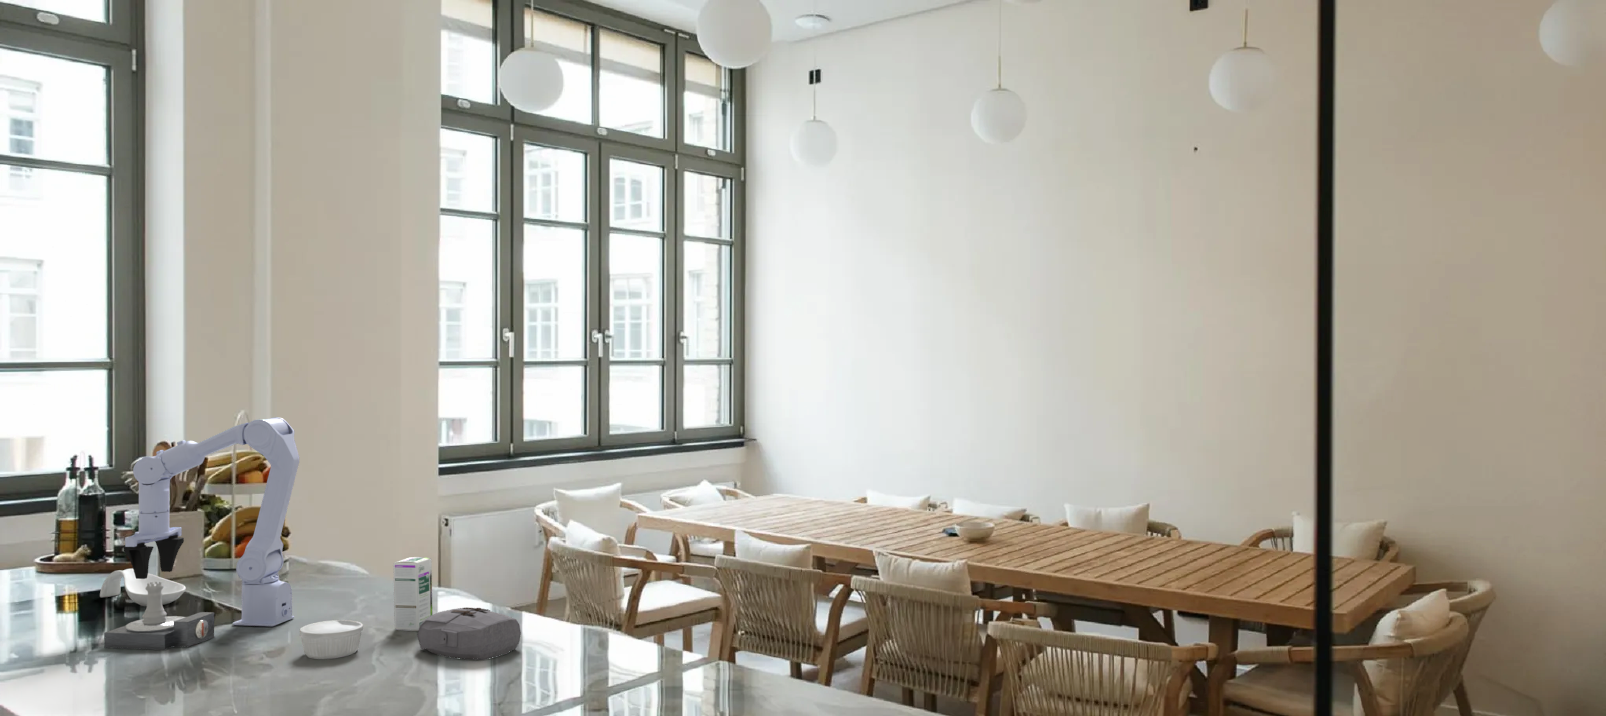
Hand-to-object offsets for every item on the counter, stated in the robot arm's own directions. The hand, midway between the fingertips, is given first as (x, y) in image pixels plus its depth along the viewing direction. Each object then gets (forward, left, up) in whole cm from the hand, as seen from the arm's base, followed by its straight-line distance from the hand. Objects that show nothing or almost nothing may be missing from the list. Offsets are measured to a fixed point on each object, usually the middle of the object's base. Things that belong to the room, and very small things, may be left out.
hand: (154, 574), depth 236 cm
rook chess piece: (-10, +13, -7) cm, 18 cm away
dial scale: (-13, +13, -10) cm, 21 cm away
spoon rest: (+19, -19, -11) cm, 29 cm away
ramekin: (-51, +17, -11) cm, 55 cm away
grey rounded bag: (-76, +11, -11) cm, 77 cm away
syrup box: (-57, -4, -11) cm, 58 cm away
